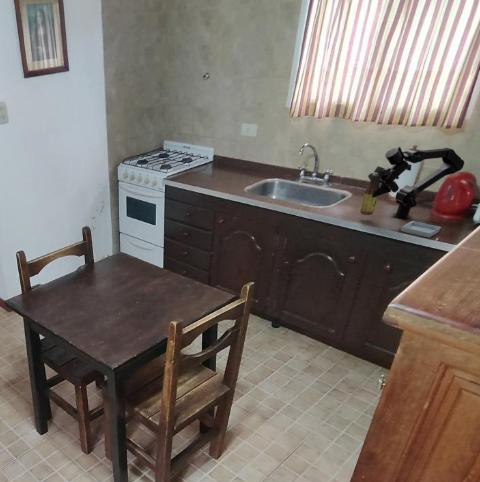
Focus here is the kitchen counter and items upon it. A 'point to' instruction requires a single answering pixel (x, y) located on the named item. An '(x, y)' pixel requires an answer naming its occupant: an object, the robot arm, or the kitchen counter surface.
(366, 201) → the sauce bottle
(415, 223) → the grey shallow tray
